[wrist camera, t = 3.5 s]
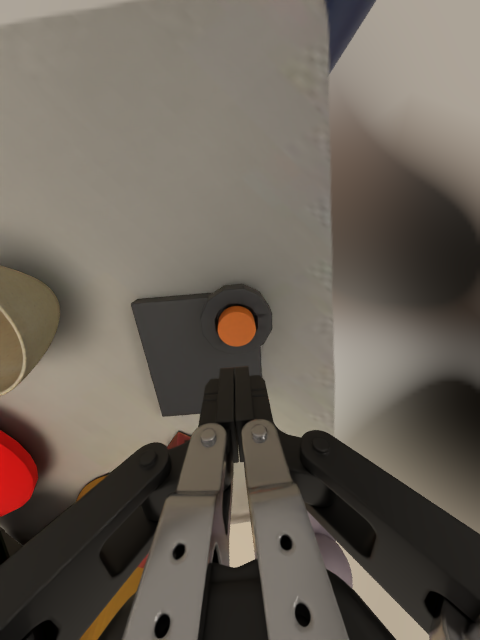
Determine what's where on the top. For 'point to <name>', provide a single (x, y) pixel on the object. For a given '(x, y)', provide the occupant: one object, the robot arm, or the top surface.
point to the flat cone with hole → (15, 474)
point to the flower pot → (24, 325)
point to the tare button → (236, 326)
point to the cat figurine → (331, 552)
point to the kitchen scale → (196, 343)
